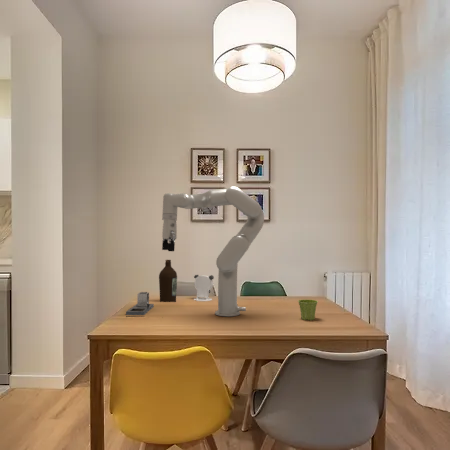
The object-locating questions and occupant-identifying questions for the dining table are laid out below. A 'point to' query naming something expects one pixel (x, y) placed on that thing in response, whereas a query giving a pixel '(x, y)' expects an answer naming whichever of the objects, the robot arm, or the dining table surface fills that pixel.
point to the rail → (139, 310)
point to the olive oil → (168, 283)
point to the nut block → (143, 299)
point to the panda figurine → (203, 287)
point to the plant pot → (308, 309)
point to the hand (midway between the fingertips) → (168, 250)
